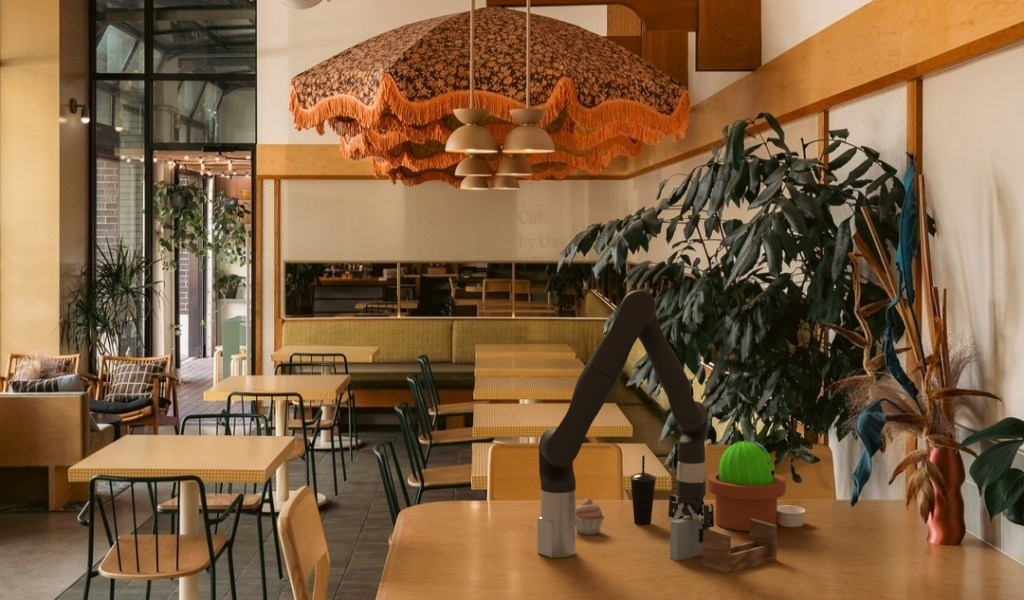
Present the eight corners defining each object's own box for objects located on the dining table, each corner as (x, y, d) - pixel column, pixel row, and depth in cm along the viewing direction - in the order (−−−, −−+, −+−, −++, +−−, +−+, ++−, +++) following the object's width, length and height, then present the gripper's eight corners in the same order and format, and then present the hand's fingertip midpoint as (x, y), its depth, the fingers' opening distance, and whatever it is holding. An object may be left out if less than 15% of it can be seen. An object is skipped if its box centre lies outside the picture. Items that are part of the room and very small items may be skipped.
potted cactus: (697, 528, 315) (698, 442, 314) (720, 510, 335) (721, 429, 333) (773, 538, 305) (775, 450, 303) (792, 519, 324) (794, 436, 323)
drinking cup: (647, 528, 315) (648, 459, 313) (624, 523, 319) (625, 456, 318) (660, 522, 321) (661, 455, 320) (638, 518, 326) (638, 451, 324)
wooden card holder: (726, 573, 275) (726, 537, 274) (702, 565, 281) (703, 530, 280) (776, 560, 286) (777, 525, 285) (752, 552, 292) (753, 518, 292)
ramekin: (808, 528, 316) (808, 513, 316) (777, 527, 316) (778, 513, 316) (801, 519, 325) (801, 505, 325) (771, 519, 325) (771, 505, 325)
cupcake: (593, 539, 304) (593, 503, 303) (565, 533, 310) (565, 498, 309) (611, 531, 312) (611, 497, 311) (583, 526, 317) (583, 492, 316)
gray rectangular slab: (676, 560, 285) (677, 523, 284) (670, 558, 287) (670, 521, 286) (709, 552, 292) (709, 515, 291) (702, 550, 294) (703, 513, 293)
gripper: (661, 475, 292) (661, 534, 293) (701, 485, 280) (700, 547, 282) (681, 471, 296) (681, 530, 297) (721, 481, 285) (720, 542, 286)
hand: (690, 538), depth 289 cm, fingers open, 8 cm apart
